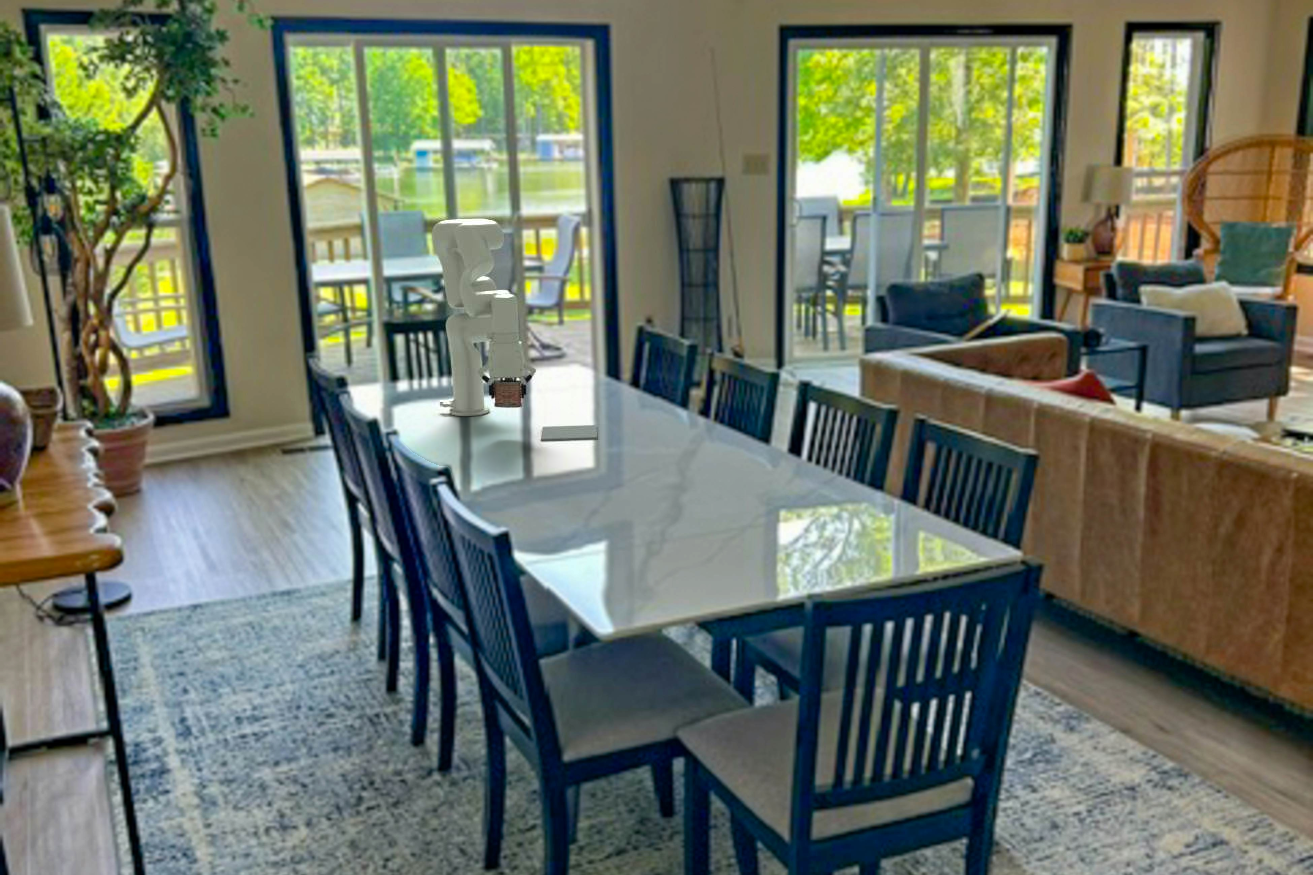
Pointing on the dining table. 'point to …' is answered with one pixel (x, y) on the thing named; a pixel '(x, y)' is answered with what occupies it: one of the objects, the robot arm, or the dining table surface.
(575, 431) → the mat
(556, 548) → the dining table surface
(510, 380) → the lighter
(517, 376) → the robot arm
